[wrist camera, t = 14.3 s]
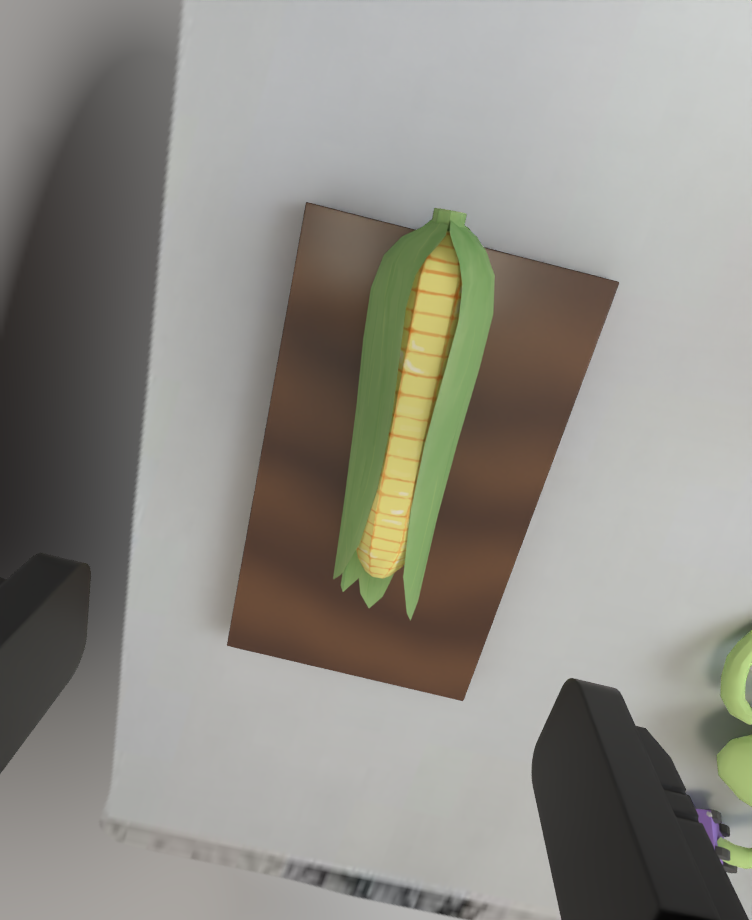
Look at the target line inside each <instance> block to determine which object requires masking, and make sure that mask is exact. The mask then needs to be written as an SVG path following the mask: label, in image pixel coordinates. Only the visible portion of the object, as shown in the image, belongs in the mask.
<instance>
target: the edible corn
mask: <svg viewBox="0 0 752 920" xmlns="http://www.w3.org/2000/svg"><path fill="white" fill-rule="evenodd" d="M466 215H467V214H465V213H461V212H456V211H451V210H445V209H439V208H434V212H433V217H432V220H430V221H429V222H428V223H427V224H425V225H424V226H423V227H421V228H419V229H417V230H415V231H413V232H410V233H408V234H406V235H404V236H402V237H401V238H400V239H399V240H398V241H397V242H396V243H395V244H394V245H393V246H392V247H391V248H390V249H389V250H388V251H387V252H386V253H385V254H384V256H383V258H382V261H381V264H380V266H379V269H378V271H377V274H376V276H375V279H374V281H373V284H372V286H371V290H370V297H369V304H368V311H367V317H366V324H365V331H364V337H363V347H362V356H361V366H360V376H359V386H358V395H357V405H356V413H355V421H354V429H353V437H352V445H351V452H350V460H349V468H348V476H347V484H346V491H345V499H344V506H343V513H342V520H341V527H340V534H339V541H338V548H337V555H336V562H335V569H334V576H333V579H335V578H337V577H338V576H340V575H341V574H342V579H341V588H342V591H343V592H344V591H345V590H346V589H347V588H348V587H349V586H350V585H352V584H353V583H354V582H355V581H356V580H357V579H358V578H359V585H360V594H361V596H362V597H363V599H364V601H365V603H366V604H367V606H368V608H370V607H371V606H372V605H374V604H375V603H376V602H377V601H378V600H379V599H380V598H382V597H383V595H384V593H385V591H386V589H387V587H388V585H389V583H390V581H391V579H392V577H393V575H394V573H395V572H396V571H397V570H399V569H400V568H401V567H403V565H404V575H403V579H404V590H405V600H406V610H407V615H408V617H409V619H410V621H411V618H412V615H413V613H414V610H415V608H416V605H417V602H418V599H419V595H420V590H421V586H422V582H423V577H424V573H425V569H426V564H427V560H428V555H429V551H430V547H431V542H432V538H433V534H434V529H435V525H436V521H437V517H438V513H439V509H440V505H441V502H442V498H443V494H444V491H445V487H446V483H447V480H448V476H449V472H450V469H451V465H452V461H453V458H454V454H455V450H456V447H457V443H458V439H459V436H460V433H461V429H462V426H463V422H464V419H465V416H466V412H467V409H468V406H469V402H470V399H471V395H472V392H473V389H474V385H475V382H476V379H477V375H478V372H479V368H480V365H481V361H482V357H483V353H484V349H485V345H486V341H487V337H488V333H489V329H490V325H491V321H492V317H493V308H494V280H495V275H494V272H493V270H492V267H491V264H490V261H489V257H488V254H487V252H486V250H485V249H484V247H483V246H482V245H481V243H480V241H479V240H478V238H477V236H475V235H474V234H473V233H472V232H471V231H470V229H469V228H468V227H466V226H464V225H465V220H466Z"/></svg>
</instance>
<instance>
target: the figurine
mask: <svg viewBox="0 0 752 920" xmlns="http://www.w3.org/2000/svg"><path fill="white" fill-rule="evenodd" d="M751 665H752V630H751V631H750V632H749V633H748V634H747V635H746V636H744V637H743V638H742V639H741V640H740V641H739V642H738V643H737V644H736V645H735V646H734V648H733V649H732V650H731V652H730V653H729V654H728V655H727V658H726V661H725V664H724V668H723V671H722V675H721V695H720V696H721V698H722V700H723V702H724V704H725V706H726V707H727V709H728V711H729V713H730V714H731V715H733V716H734V717H736V718H738V719H740V720H741V721H743V722H745V723H747V724H748V725H750V724H752V708H751V707H750V705H749V704H748V702H747V701H746V699H745V683H746V679H747V676H748V672H749V668H750V667H751ZM717 765H718V775H719V776H720V778H721V779H722V780H723V781H724V782H725V783H726V784H727V786H728V787H729V788H730V789H731V790H732V791H733V792H734V793H735V795H736V796H737V797H738V798H739V799H740V800H742V801H743V802H745V803H746V804H748V805H749V806H751V807H752V734H751V735H747V736H743V737H739V738H735V739H731V740H730V741H729V742H728V743H727V744H726V745H725V747H724V748H723V749H722V750H721V751H720V752H719V753H718V754H717ZM696 811H697V813H698V815H699V817H698V821H699V823H702V824H703V826H704V828H705V830H706V832H707V834H708V836H709V838H710V840H711V842H712V844H713V846H714V849H715V851H716V853H717V855H718V857H719V859H720V861H721V863H722V865H723V867H724V869H725V871H726V872H728V873H737V867H740V868H744V869H749V868H752V848H745V847H741V846H737V845H734V844H732V843H730V842H729V841H727V840H725V839H724V837H729V836H730V828H729V827H728V826H727V825H724V824H722V822H721V813H719V812H717V811H714V810H709V809H705V810H704V809H696Z"/></svg>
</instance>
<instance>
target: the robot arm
mask: <svg viewBox="0 0 752 920" xmlns="http://www.w3.org/2000/svg"><path fill="white" fill-rule="evenodd" d="M90 579H91V571H90V567H89V566H88V564H86V563H82V562H78V561H74V560H69V559H65V558H60V557H56V556H52V555H48V554H43V553H38V554H36V555H34V556H33V557H31V558H30V559H29V560H28V561H27V562H26V563H24V564H23V565H22V566H21V567H20V568H19V569H18V570H17V571H16V572H14V573H13V574H12V575H11V576H10V577H9V578H7V579H4V578H0V773H1V772H2V771H3V769H4V768H5V767H6V765H7V764H8V763H9V761H10V760H11V759H12V757H13V756H14V755H15V753H16V752H17V751H18V749H19V748H20V746H21V745H22V744H23V743H24V741H25V740H26V738H27V737H28V736H29V734H30V733H31V732H32V730H33V729H34V728H35V726H36V725H37V724H38V722H39V721H40V720H41V718H42V717H43V716H44V714H45V713H46V712H47V710H48V709H49V708H50V706H51V705H52V703H53V702H54V701H55V699H56V698H57V697H58V695H59V694H60V692H61V691H62V690H63V689H64V687H65V686H66V685H67V683H68V682H69V681H70V679H71V678H72V676H73V675H74V673H75V671H76V669H77V667H78V665H79V663H80V660H81V658H82V654H83V651H84V648H85V644H86V637H87V623H88V608H89V594H90ZM532 784H533V789H534V794H535V798H536V803H537V808H538V812H539V817H540V822H541V826H542V831H543V836H544V840H545V845H546V850H547V854H548V859H549V864H550V868H551V873H552V878H553V882H554V887H555V892H556V896H557V901H558V906H559V910H560V915H561V920H749V919H748V917H747V915H746V913H745V911H744V909H743V907H742V905H741V902H740V900H739V898H738V896H737V894H736V892H735V890H734V888H733V886H732V884H731V882H730V880H729V878H728V875H727V873H726V871H725V869H724V867H723V865H722V863H721V861H720V859H719V857H718V855H717V853H716V851H715V849H714V846H713V844H712V842H711V840H710V838H709V836H708V834H707V832H706V830H705V828H704V826H703V824H702V823H699V821H698V817H699V815H698V813H697V811H696V809H695V807H694V805H693V803H692V801H691V799H690V797H689V796H688V795H686V793H685V791H686V788H685V786H684V784H683V782H682V780H681V778H680V776H679V774H678V772H677V770H676V768H675V765H674V763H673V761H672V759H671V757H670V756H669V755H668V754H667V753H666V752H665V750H664V749H663V748H662V747H661V746H660V745H659V743H658V742H657V741H656V740H655V739H654V738H653V736H652V735H651V734H650V733H649V732H648V730H647V729H646V728H642V727H638V726H635V724H634V721H633V719H632V717H631V715H630V712H629V710H628V708H627V706H626V703H625V701H624V699H623V697H622V695H621V693H620V692H619V691H618V690H617V689H616V688H612V687H608V686H604V685H599V684H595V683H591V682H587V681H582V680H578V679H574V678H570V679H568V680H567V681H566V682H565V683H564V685H563V687H562V688H561V691H560V693H559V695H558V697H557V699H556V701H555V704H554V706H553V708H552V710H551V712H550V715H549V717H548V719H547V721H546V723H545V725H544V728H543V730H542V732H541V734H540V736H539V739H538V741H537V743H536V746H535V749H534V753H533V759H532Z"/></svg>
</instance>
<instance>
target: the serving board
mask: <svg viewBox="0 0 752 920" xmlns="http://www.w3.org/2000/svg"><path fill="white" fill-rule="evenodd" d="M413 231H415V230H414V229H410V228H406V227H402V226H398V225H394V224H390V223H386V222H382V221H379V220H375V219H371V218H367V217H363V216H359V215H355V214H351V213H347V212H343V211H339V210H336V209H332V208H328V207H324V206H320V205H316V204H312V203H308V202H306V205H305V211H304V217H303V222H302V228H301V233H300V239H299V245H298V250H297V256H296V261H295V267H294V273H293V278H292V284H291V289H290V295H289V301H288V306H287V312H286V317H285V323H284V329H283V334H282V340H281V345H280V351H279V357H278V362H277V368H276V373H275V379H274V385H273V390H272V396H271V401H270V407H269V413H268V418H267V424H266V429H265V435H264V441H263V446H262V452H261V457H260V463H259V469H258V474H257V480H256V485H255V491H254V497H253V502H252V508H251V513H250V519H249V525H248V530H247V536H246V541H245V547H244V553H243V558H242V564H241V569H240V575H239V580H238V586H237V592H236V597H235V603H234V608H233V614H232V620H231V625H230V631H229V636H228V642H227V646H230V647H235V648H239V649H243V650H247V651H252V652H256V653H260V654H265V655H269V656H273V657H277V658H282V659H286V660H290V661H294V662H299V663H303V664H307V665H311V666H316V667H320V668H324V669H329V670H333V671H337V672H341V673H346V674H350V675H354V676H358V677H363V678H367V679H371V680H375V681H380V682H384V683H388V684H393V685H397V686H401V687H405V688H410V689H414V690H418V691H422V692H427V693H431V694H435V695H439V696H444V697H448V698H452V699H456V700H461V701H463V700H464V698H465V695H466V692H467V690H468V687H469V684H470V682H471V679H472V676H473V674H474V671H475V668H476V665H477V663H478V660H479V657H480V655H481V652H482V649H483V647H484V644H485V641H486V639H487V636H488V633H489V631H490V628H491V625H492V623H493V620H494V617H495V615H496V612H497V609H498V607H499V604H500V601H501V599H502V596H503V593H504V590H505V588H506V585H507V582H508V580H509V577H510V574H511V572H512V569H513V566H514V564H515V561H516V558H517V556H518V553H519V550H520V548H521V545H522V542H523V540H524V537H525V534H526V532H527V529H528V526H529V523H530V521H531V518H532V515H533V513H534V510H535V507H536V505H537V502H538V499H539V497H540V494H541V491H542V489H543V486H544V483H545V481H546V478H547V475H548V473H549V470H550V467H551V465H552V462H553V459H554V456H555V454H556V451H557V448H558V446H559V443H560V440H561V438H562V435H563V432H564V430H565V427H566V424H567V422H568V419H569V416H570V414H571V411H572V408H573V406H574V403H575V400H576V398H577V395H578V392H579V389H580V387H581V384H582V381H583V379H584V376H585V373H586V371H587V368H588V365H589V363H590V360H591V357H592V355H593V352H594V349H595V347H596V344H597V341H598V339H599V336H600V333H601V331H602V328H603V325H604V323H605V320H606V317H607V314H608V312H609V309H610V306H611V304H612V301H613V298H614V296H615V293H616V290H617V288H618V285H619V282H617V281H613V280H609V279H606V278H602V277H598V276H594V275H590V274H586V273H582V272H578V271H574V270H570V269H566V268H562V267H559V266H555V265H551V264H547V263H543V262H539V261H535V260H531V259H527V258H523V257H519V256H516V255H512V254H508V253H504V252H500V251H496V250H492V249H488V248H484V249H485V250H486V252H487V254H488V257H489V261H490V264H491V267H492V270H493V272H494V275H495V280H494V308H493V317H492V321H491V325H490V329H489V333H488V337H487V341H486V345H485V349H484V353H483V357H482V361H481V365H480V368H479V372H478V375H477V379H476V382H475V385H474V389H473V392H472V395H471V399H470V402H469V406H468V409H467V412H466V416H465V419H464V422H463V426H462V429H461V433H460V436H459V439H458V443H457V447H456V450H455V454H454V458H453V461H452V465H451V469H450V472H449V476H448V480H447V483H446V487H445V491H444V494H443V498H442V502H441V505H440V509H439V513H438V517H437V521H436V525H435V529H434V534H433V538H432V542H431V547H430V551H429V555H428V560H427V564H426V569H425V573H424V577H423V582H422V586H421V590H420V595H419V599H418V602H417V605H416V608H415V610H414V613H413V615H412V618H411V621H410V619H409V617H408V615H407V610H406V600H405V590H404V579H403V575H404V565H403V567H401V568H400V569H399V570H397V571H396V572H395V573H394V575H393V577H392V579H391V581H390V583H389V585H388V587H387V589H386V591H385V593H384V595H383V597H382V598H380V599H379V600H378V601H377V602H376V603H375V604H374V605H372V606H371V607H370V608H368V606H367V604H366V603H365V601H364V599H363V597H362V596H361V594H360V585H359V578H358V579H357V580H356V581H355V582H354V583H353V584H352V585H350V586H349V587H348V588H347V589H346V590H345V591H344V592H343V591H342V588H341V579H342V574H341V575H340V576H338V577H337V578H335V579H333V576H334V569H335V562H336V555H337V548H338V541H339V534H340V527H341V520H342V513H343V506H344V499H345V491H346V484H347V476H348V468H349V460H350V452H351V445H352V437H353V429H354V421H355V413H356V405H357V395H358V386H359V376H360V366H361V356H362V347H363V337H364V331H365V324H366V317H367V311H368V304H369V297H370V290H371V286H372V284H373V281H374V279H375V276H376V274H377V271H378V269H379V266H380V264H381V261H382V258H383V256H384V254H385V253H386V252H387V251H388V250H389V249H390V248H391V247H392V246H393V245H394V244H395V243H396V242H397V241H398V240H399V239H400V238H401V237H402V236H404V235H406V234H408V233H410V232H413Z"/></svg>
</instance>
